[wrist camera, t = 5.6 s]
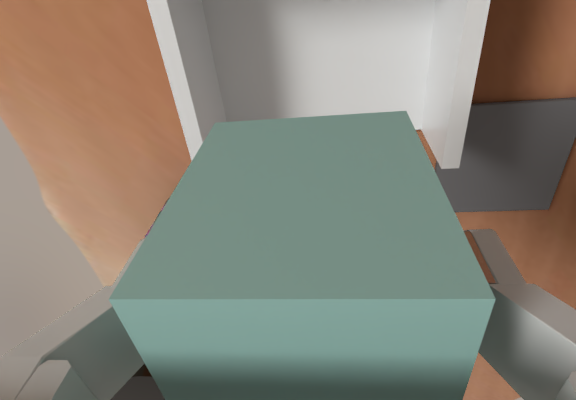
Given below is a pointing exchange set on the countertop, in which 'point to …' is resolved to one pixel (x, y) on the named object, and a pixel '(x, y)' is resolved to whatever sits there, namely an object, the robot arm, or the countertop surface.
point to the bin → (323, 62)
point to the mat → (511, 155)
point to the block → (307, 269)
